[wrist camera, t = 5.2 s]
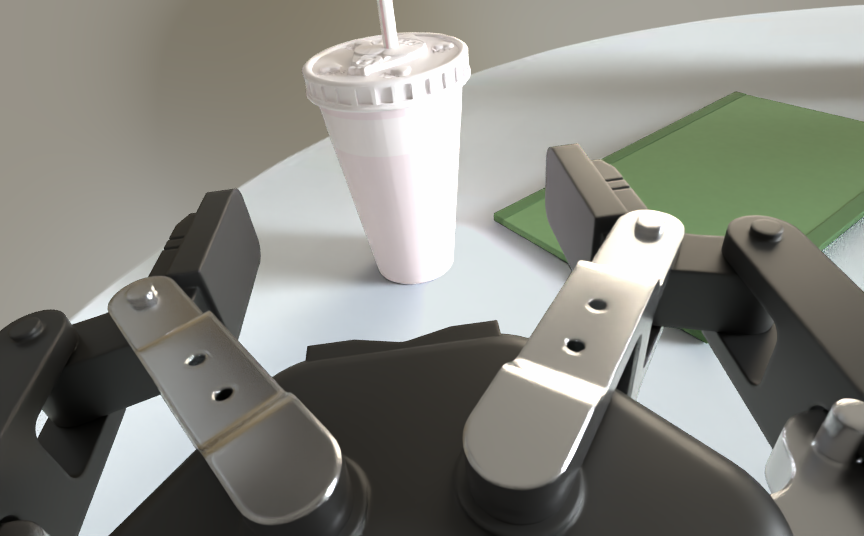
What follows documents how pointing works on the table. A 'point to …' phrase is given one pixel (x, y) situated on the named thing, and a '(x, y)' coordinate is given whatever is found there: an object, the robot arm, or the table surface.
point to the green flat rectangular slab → (735, 172)
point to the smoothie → (397, 139)
